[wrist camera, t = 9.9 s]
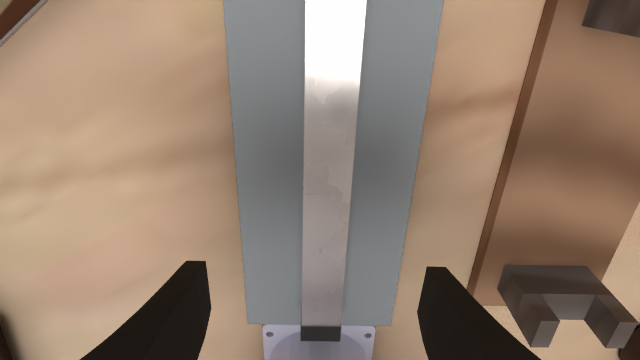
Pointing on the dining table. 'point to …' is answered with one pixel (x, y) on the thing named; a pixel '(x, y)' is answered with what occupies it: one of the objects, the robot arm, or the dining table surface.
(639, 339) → the vinegar
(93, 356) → the robot arm
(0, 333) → the barrel
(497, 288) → the wooden stand
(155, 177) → the dining table surface
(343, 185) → the steel rail
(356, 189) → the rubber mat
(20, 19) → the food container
